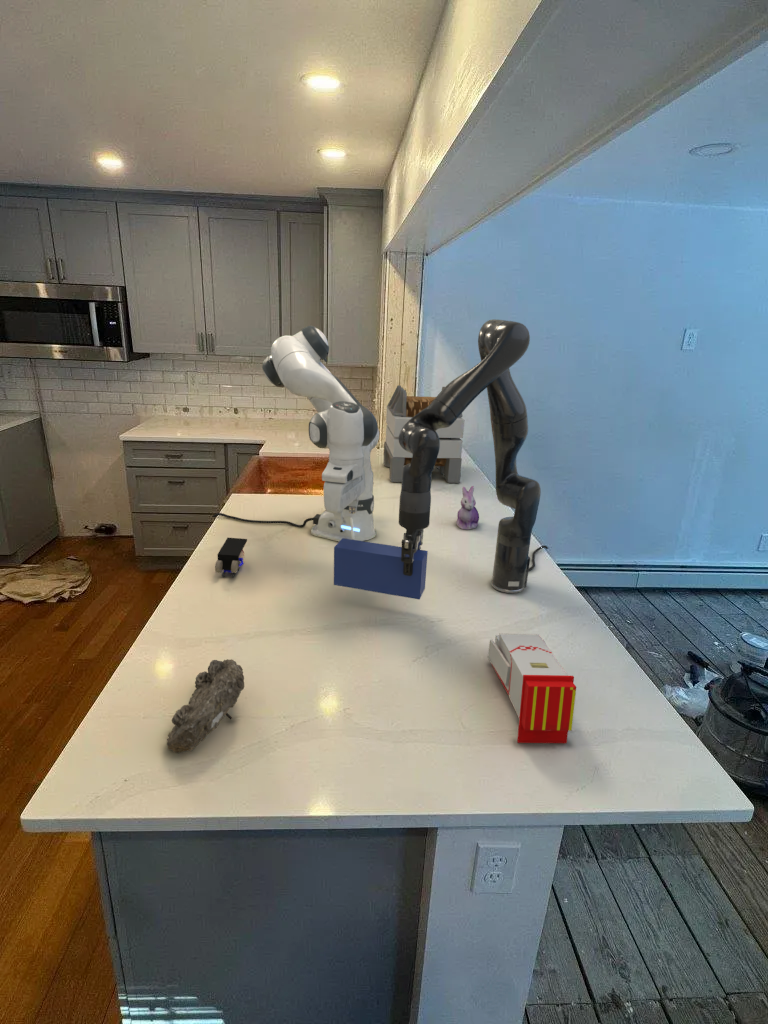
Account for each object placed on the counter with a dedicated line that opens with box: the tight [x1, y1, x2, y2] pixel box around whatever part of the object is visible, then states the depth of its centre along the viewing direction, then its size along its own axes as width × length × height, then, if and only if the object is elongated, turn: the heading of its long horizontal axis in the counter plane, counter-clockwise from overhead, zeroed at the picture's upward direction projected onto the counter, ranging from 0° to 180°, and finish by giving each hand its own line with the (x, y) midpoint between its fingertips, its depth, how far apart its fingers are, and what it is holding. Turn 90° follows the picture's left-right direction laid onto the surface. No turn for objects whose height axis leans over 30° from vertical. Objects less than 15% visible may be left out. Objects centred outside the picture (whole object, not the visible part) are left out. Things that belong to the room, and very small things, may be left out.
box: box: [333, 538, 429, 600], centre depth 145 cm, size 23×6×11 cm, turn 74°
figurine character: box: [214, 537, 248, 578], centre depth 166 cm, size 7×8×15 cm
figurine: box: [456, 485, 480, 530], centre depth 208 cm, size 9×10×15 cm
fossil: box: [166, 658, 245, 754], centre depth 106 cm, size 22×10×15 cm
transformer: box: [383, 384, 465, 484], centre depth 268 cm, size 34×33×41 cm
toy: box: [487, 632, 577, 744], centre depth 116 cm, size 12×13×30 cm
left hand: (346, 518), depth 148 cm, fingers open, 8 cm apart
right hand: (411, 569), depth 143 cm, fingers closed on box, 6 cm apart
